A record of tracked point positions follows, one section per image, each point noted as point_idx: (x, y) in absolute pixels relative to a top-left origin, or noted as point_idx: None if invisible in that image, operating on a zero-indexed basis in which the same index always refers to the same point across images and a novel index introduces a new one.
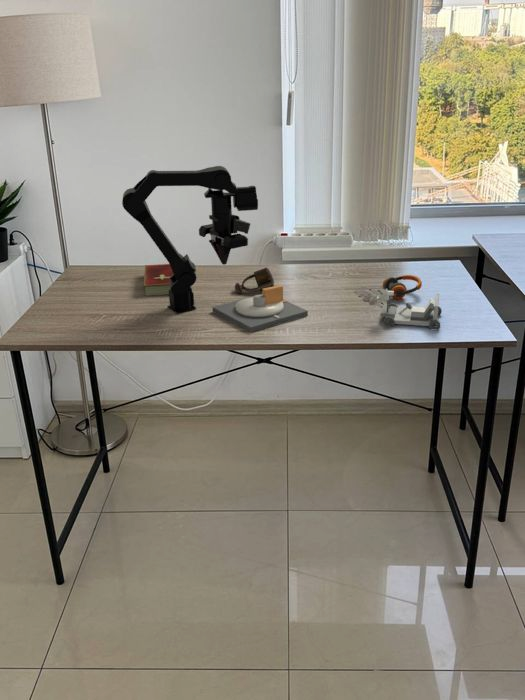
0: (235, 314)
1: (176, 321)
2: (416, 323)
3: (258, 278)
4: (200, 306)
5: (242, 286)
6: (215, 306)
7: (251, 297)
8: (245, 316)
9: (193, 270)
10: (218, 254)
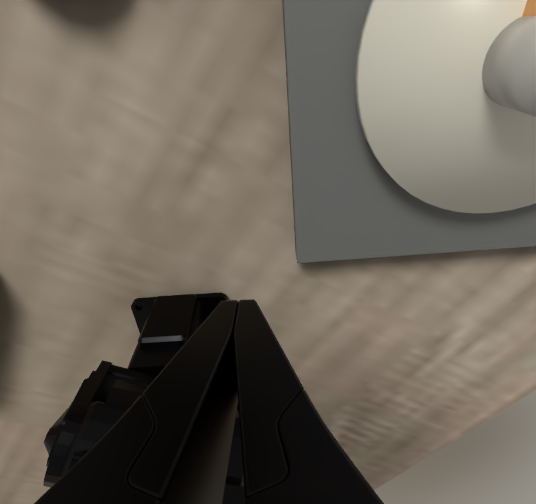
0: (461, 220)
1: (301, 381)
2: None
3: None
4: (201, 264)
5: None
6: (300, 249)
7: (368, 28)
8: None
9: (236, 502)
10: (224, 479)
